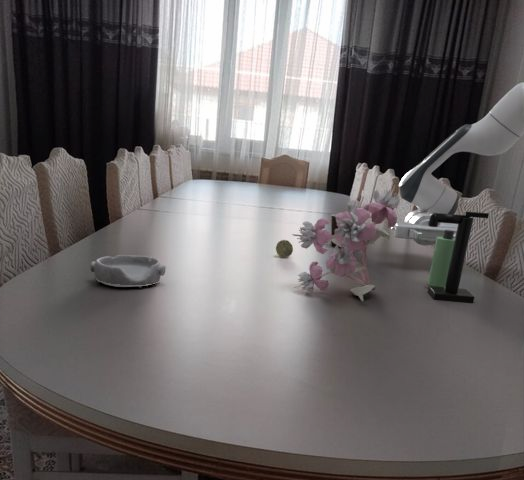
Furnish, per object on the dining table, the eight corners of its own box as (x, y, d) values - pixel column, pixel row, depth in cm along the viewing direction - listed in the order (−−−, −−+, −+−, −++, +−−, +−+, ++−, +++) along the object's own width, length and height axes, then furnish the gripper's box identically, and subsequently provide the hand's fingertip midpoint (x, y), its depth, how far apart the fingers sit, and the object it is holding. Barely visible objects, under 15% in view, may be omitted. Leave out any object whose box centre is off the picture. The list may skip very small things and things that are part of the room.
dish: (173, 284, 116) (173, 262, 114) (121, 294, 106) (121, 270, 104) (132, 271, 125) (132, 250, 123) (81, 279, 114) (79, 257, 113)
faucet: (464, 294, 126) (483, 211, 119) (473, 303, 120) (493, 215, 112) (412, 290, 127) (428, 207, 119) (418, 298, 120) (435, 210, 113)
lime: (294, 257, 153) (295, 240, 151) (283, 259, 150) (284, 242, 148) (282, 254, 156) (284, 238, 154) (272, 256, 152) (273, 239, 151)
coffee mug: (326, 246, 173) (330, 216, 169) (329, 242, 181) (332, 213, 177) (361, 250, 171) (365, 220, 167) (362, 246, 179) (367, 217, 175)
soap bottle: (441, 282, 136) (453, 229, 131) (452, 288, 131) (464, 232, 126) (424, 282, 135) (434, 228, 130) (434, 288, 130) (445, 231, 125)
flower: (320, 268, 135) (304, 178, 118) (407, 274, 125) (402, 177, 108) (291, 317, 123) (268, 225, 106) (384, 329, 112) (375, 228, 96)
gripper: (391, 215, 152) (399, 222, 139) (462, 221, 151) (476, 228, 138) (388, 237, 154) (395, 245, 141) (457, 243, 153) (471, 252, 140)
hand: (436, 237), depth 140 cm, fingers open, 8 cm apart
